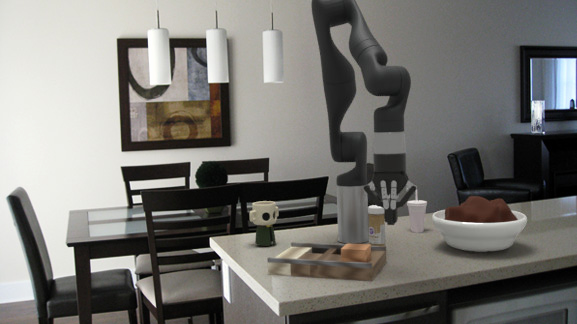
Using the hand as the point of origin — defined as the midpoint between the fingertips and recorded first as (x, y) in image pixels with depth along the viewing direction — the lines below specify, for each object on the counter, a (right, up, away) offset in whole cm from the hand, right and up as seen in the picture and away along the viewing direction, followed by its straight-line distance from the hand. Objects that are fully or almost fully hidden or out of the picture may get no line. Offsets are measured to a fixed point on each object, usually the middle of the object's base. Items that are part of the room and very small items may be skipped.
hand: (391, 224), depth 136 cm
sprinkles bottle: (0, -11, +21) cm, 24 cm away
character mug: (-31, -11, +38) cm, 50 cm away
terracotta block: (-8, -9, +4) cm, 13 cm away
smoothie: (+17, -8, +49) cm, 53 cm away
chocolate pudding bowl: (+29, -10, +24) cm, 38 cm away
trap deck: (-14, -12, +10) cm, 21 cm away
